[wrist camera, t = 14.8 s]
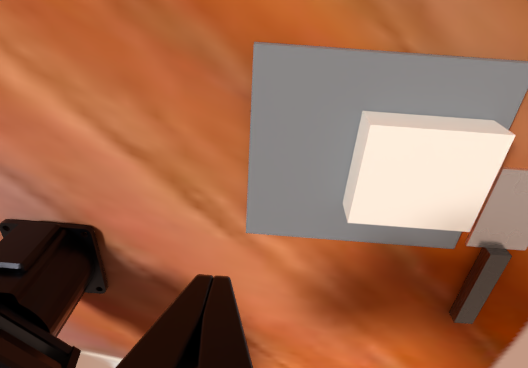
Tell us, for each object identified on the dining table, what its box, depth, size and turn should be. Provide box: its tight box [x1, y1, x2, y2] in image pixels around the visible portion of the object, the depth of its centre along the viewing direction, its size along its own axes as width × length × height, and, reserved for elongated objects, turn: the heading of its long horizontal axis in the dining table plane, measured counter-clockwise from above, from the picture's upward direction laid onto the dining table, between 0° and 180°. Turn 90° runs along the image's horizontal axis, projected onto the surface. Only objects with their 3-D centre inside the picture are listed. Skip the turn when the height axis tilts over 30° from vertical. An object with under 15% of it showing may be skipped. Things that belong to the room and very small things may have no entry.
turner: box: [449, 167, 528, 324], centre depth 24 cm, size 13×4×1 cm, turn 177°
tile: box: [343, 111, 515, 232], centre depth 19 cm, size 6×2×7 cm
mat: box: [246, 42, 528, 249], centre depth 20 cm, size 12×14×1 cm
